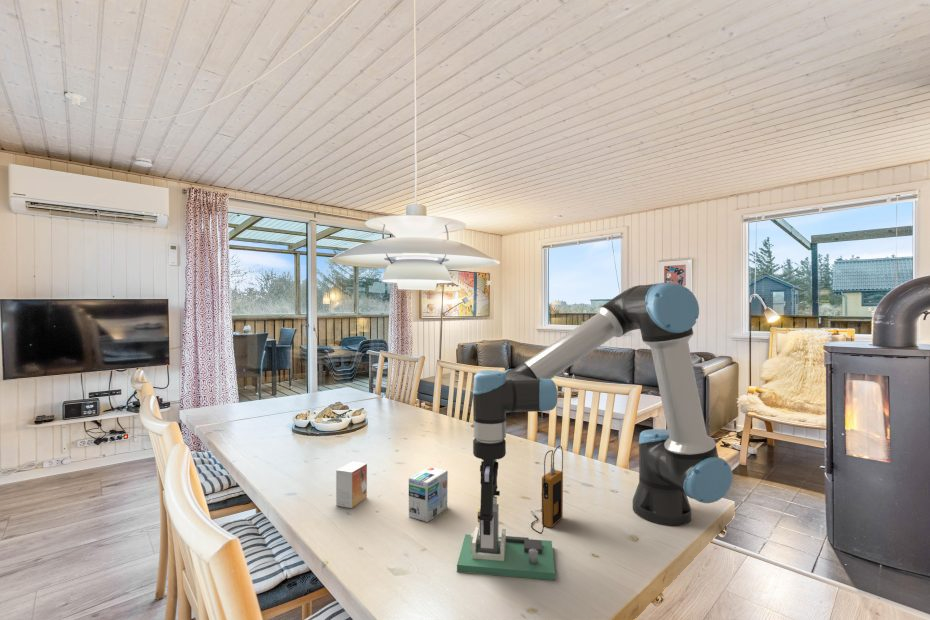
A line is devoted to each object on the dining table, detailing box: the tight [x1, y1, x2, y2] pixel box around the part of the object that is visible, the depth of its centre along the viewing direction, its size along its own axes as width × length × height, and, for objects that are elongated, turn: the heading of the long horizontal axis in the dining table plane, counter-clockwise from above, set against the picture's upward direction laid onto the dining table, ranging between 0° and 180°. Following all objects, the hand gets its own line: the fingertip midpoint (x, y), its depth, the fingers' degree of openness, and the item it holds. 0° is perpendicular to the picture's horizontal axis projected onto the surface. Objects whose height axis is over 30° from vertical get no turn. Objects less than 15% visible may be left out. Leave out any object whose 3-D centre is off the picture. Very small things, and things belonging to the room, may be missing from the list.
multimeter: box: [529, 445, 564, 534], centre depth 119 cm, size 15×10×20 cm
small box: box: [335, 461, 368, 509], centre depth 130 cm, size 8×6×10 cm
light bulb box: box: [408, 466, 449, 523], centre depth 123 cm, size 11×7×11 cm, turn 151°
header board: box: [456, 526, 556, 581], centre depth 100 cm, size 21×13×5 cm, turn 82°
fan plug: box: [477, 503, 500, 554], centre depth 101 cm, size 5×4×10 cm
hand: (489, 534), depth 101 cm, fingers open, 10 cm apart
